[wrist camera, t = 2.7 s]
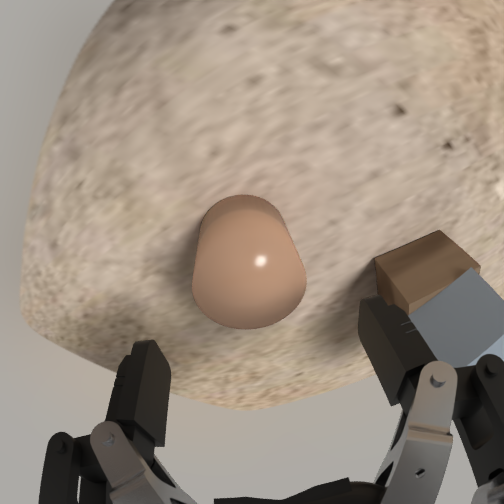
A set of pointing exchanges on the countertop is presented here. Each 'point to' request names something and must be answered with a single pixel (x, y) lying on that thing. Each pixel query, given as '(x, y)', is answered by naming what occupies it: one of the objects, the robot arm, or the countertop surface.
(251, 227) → the tan rounded cylinder
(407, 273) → the tower base
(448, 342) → the tower top
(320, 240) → the countertop surface
